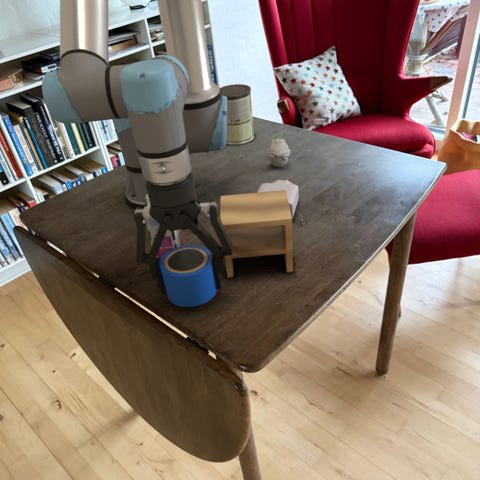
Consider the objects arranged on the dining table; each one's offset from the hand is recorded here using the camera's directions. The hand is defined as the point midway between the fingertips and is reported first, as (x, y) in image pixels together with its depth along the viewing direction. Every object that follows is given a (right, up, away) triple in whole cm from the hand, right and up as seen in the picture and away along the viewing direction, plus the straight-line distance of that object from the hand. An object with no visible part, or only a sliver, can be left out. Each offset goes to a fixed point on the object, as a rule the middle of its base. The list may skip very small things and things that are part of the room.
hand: (191, 287), depth 86 cm
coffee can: (+8, +50, +56) cm, 76 cm away
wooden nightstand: (+13, +7, +9) cm, 17 cm away
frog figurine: (+20, +36, +40) cm, 57 cm away
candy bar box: (-5, +5, +9) cm, 11 cm away
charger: (+18, +22, +24) cm, 37 cm away
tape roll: (0, -1, 0) cm, 1 cm away
